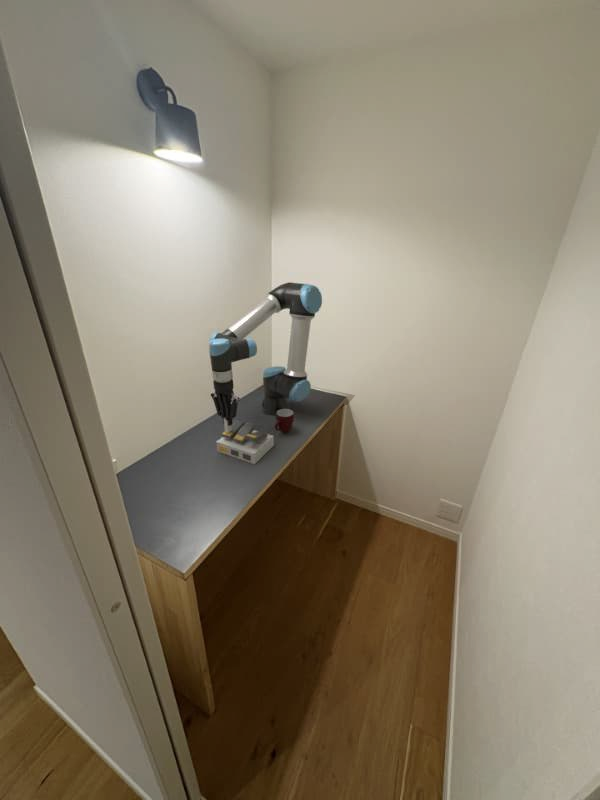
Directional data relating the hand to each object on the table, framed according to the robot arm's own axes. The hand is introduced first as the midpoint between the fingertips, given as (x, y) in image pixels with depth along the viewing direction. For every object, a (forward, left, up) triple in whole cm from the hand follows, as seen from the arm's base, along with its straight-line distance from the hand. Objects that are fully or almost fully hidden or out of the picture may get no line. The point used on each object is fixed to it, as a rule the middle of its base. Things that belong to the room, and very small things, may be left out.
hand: (228, 431), depth 132 cm
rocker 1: (-3, 0, -1) cm, 3 cm away
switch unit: (-3, +6, -9) cm, 11 cm away
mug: (-22, +14, -9) cm, 28 cm away
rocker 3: (-3, +12, -1) cm, 12 cm away
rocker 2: (-3, +6, -1) cm, 7 cm away
